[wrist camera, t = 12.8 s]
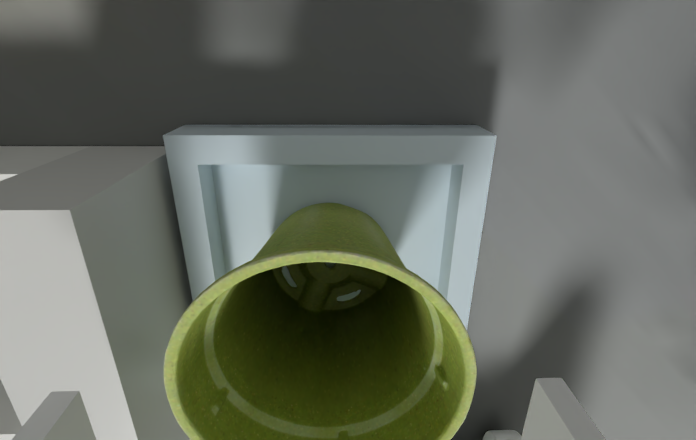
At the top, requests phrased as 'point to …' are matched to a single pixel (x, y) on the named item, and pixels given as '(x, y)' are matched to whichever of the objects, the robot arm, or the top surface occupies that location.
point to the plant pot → (321, 343)
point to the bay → (89, 285)
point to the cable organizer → (502, 435)
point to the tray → (334, 193)
